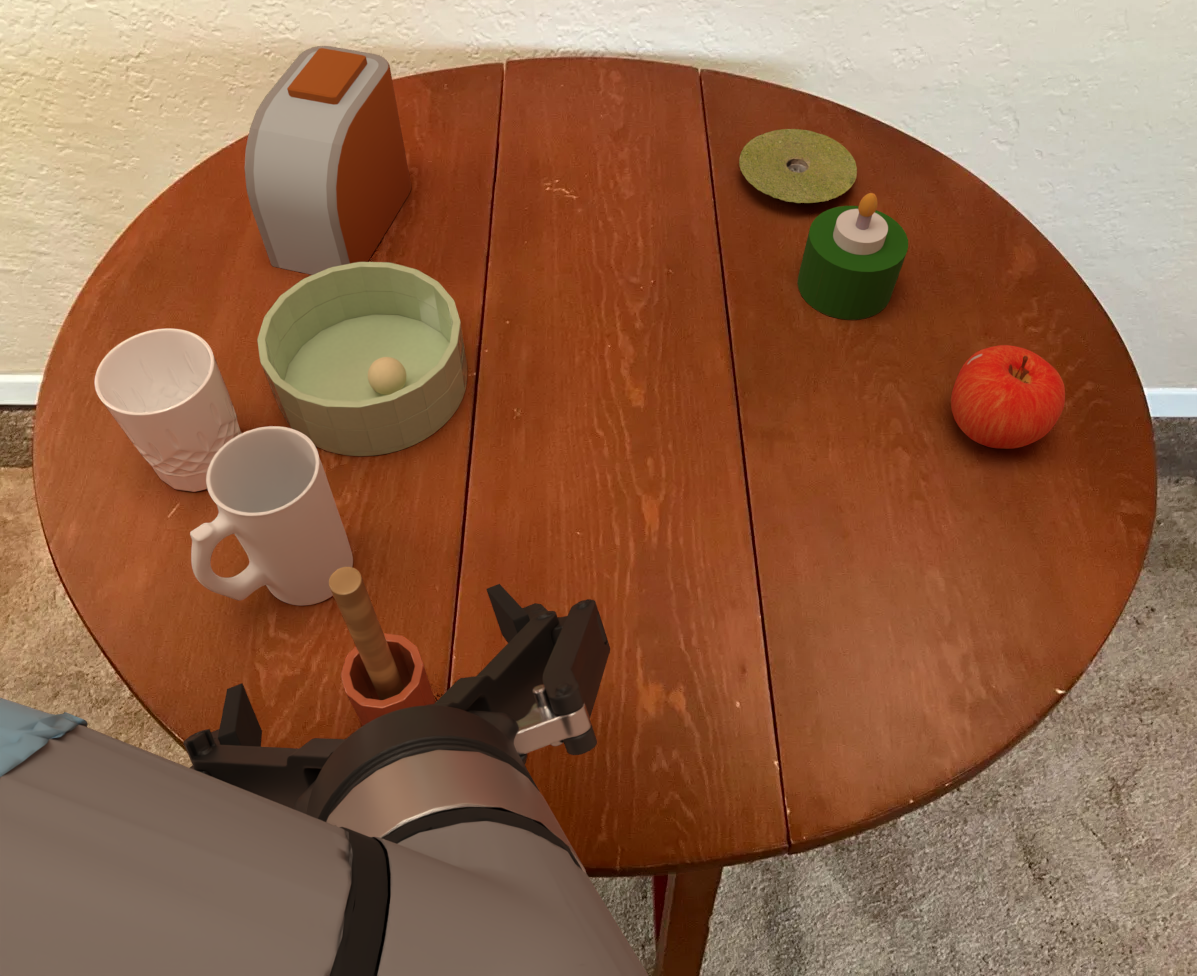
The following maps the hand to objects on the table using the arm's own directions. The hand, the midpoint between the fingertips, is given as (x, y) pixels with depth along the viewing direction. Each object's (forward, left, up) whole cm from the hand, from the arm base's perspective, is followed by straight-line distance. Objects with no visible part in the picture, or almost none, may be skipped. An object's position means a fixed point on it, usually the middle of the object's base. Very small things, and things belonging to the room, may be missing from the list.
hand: (376, 657), depth 50 cm
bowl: (-24, +20, -14) cm, 35 cm away
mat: (-10, +64, -14) cm, 66 cm away
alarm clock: (-40, +33, -14) cm, 54 cm away
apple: (+18, +47, -14) cm, 52 cm away
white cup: (-29, +7, -14) cm, 33 cm away
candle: (+1, +54, -14) cm, 56 cm away
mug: (-15, +4, -14) cm, 21 cm away
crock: (-2, +1, -14) cm, 14 cm away
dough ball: (-22, +20, -12) cm, 32 cm away
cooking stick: (-2, +1, -14) cm, 14 cm away
